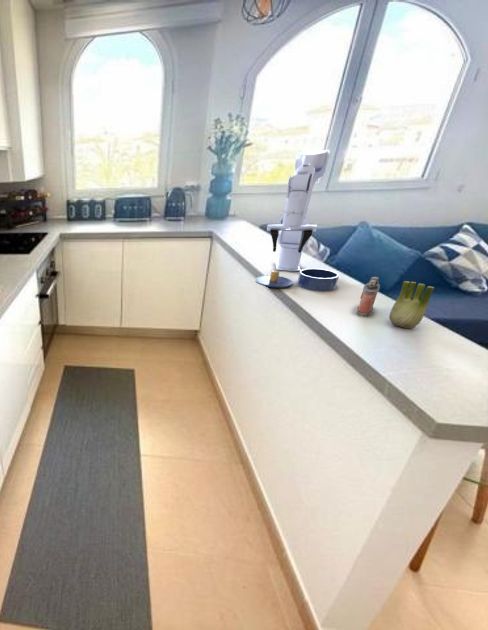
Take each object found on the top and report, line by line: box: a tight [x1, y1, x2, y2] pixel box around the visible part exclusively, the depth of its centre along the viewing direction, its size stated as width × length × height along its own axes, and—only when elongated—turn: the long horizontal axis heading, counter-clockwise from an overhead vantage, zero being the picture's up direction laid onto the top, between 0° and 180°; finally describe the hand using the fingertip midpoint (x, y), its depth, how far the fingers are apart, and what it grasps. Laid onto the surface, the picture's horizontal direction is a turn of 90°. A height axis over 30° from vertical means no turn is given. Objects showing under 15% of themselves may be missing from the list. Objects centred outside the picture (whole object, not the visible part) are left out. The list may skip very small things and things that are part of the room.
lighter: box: [355, 276, 381, 317], centre depth 97 cm, size 8×3×10 cm, turn 135°
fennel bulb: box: [388, 280, 435, 329], centre depth 87 cm, size 6×5×12 cm
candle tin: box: [297, 268, 340, 292], centre depth 118 cm, size 11×11×4 cm
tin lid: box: [254, 269, 293, 289], centre depth 122 cm, size 12×12×5 cm
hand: (286, 251), depth 122 cm, fingers open, 7 cm apart
